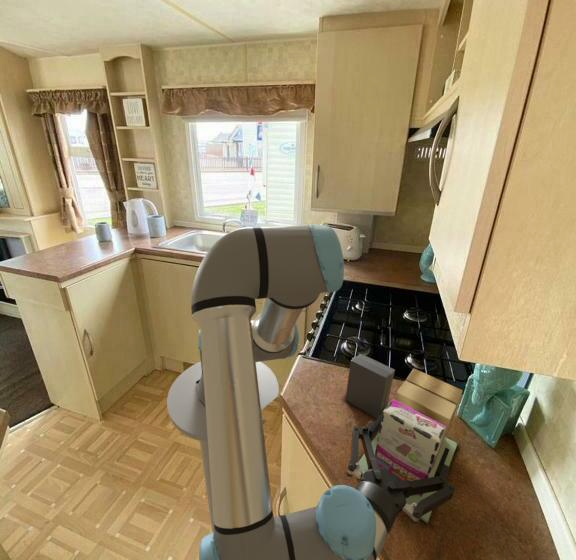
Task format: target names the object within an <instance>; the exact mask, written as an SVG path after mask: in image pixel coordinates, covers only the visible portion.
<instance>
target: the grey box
mask: <svg viewBox="0 0 576 560" xmlns="http://www.w3.org/2000/svg"><path fill="white" fill-rule="evenodd" d="M395 372H396V369H394V368H392V367H389V366H388V365H386V364H384V363H382V362H379V361H378V360H375V359H373V358H371V357H369V356H367V355H365V354H362V353H359V354H358V355H357V356H356V355H355V356H354V357H352V359H351V360H350V364H349V371H348V378H347V385H346V392H345V399H344V400H345V401H347V402H348V403H350V404H351V405H353V406H355V407H357V408H359V410H362V411H364V412H365V413H367V414H369V415H370V416H372V417H374V418H375V419H376V420H377V419H378V417H379V416H380V414H381V413H382V412H383V411H384V410H385V409H386V407H387V406H388V405H389V400H390V399H389V398H390V395H391V390H392V387H393V380H394V377H395Z"/></svg>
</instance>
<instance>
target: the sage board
mask: <svg viewBox="0 0 576 560" xmlns="http://www.w3.org/2000/svg"><path fill="white" fill-rule="evenodd" d="M378 436H379V431H377V433H376V434H375V436H374V437H373V439H372V440H371V444H372V447H373V451H374V454H375V450H376V446H377V441H378ZM457 446H458V442H455V441H454V440H452V439H450V438H448V437H447V438H446V440H445V443H444V445H443V448H442V450H441V452H440V454H439V457H438V459H437V462H436V464H435V466H434V469H433V471H432V473H431V476H430V477H434V475H435V472H436V469H437V467H438V465H439V462H440V460H441V457H442V455H443V453H444V450H445V448H448V449H449V453H448V455H447V458H446V461H445V463H444V464H445V465H447V466H448V467H449V468H450V465H451V462H452V460H453V457H454V455H455V451H456V450H457ZM357 463H359V465H360V470H361V472H363V471H365V470H368V465H367V461H366V457H365V453H364V452H363V455H362V456H361V458H360V459H359V460H358V461H357ZM435 492H437V491H435ZM435 492H429V493H424V494H423V495H422V497H421V496H419V495H413V496H410V497H408V498H405V499H406V503H407V504H412V503H416V504H418V502H419V501H421V500H422V499H424V498H426V497H428V496H430V495H431V494H433V493H435ZM432 511H433V510H432ZM432 511H430V512H428V513H427V514H425V515H423V516H422V517H421V519H420V520H422V521H423V522H424V523H426V524H428V523H429V520H430V517H431V515H432Z"/></svg>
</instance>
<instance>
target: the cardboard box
mask: <svg viewBox="0 0 576 560" xmlns="http://www.w3.org/2000/svg"><path fill="white" fill-rule="evenodd" d="M463 391H464V390H463V389H460V388H458V387H456V386H454V385H452V384H449V383H447V382H445V381H443V380H441V379H439V378H436V377H434V376H432V375H429V374H427V373H425V372H423V371H421V370H418V369H416V368H412V370H411V371H410V373H409V374H408V376H407V378H406V379H405V380H404V381H403V382H402V385H401V386H400V387H399V389H398V390H397V391H396V395H395V399H394V400H396V401H398V402H400V403H402V404H404V405H406V406H408V407H410V408H412V409H413V410H415V411H417V412H419V413H421V414H423V415H425V416H427V417H429V418H431V419H433V420H435V421H437V422H439V423H441V424H443V425H444V426H446V429H445V432H444V435H443V438H442V442H441V445H440V448H439V451H438V454H437V457H436V460H435V464H436V462H437V459H438V457H439V454H440V452H441V450H442V448H443V445H444V443H445V440H446V438H448V435H449V431H450V430H451V427H452V423H453V420H454V418H455V415H456V412H457V409H458V406H459V404H460V400H461V397H462V395H463ZM435 464H434V466H435ZM433 469H434V467H433ZM432 471H433V470H432Z"/></svg>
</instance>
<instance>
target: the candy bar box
mask: <svg viewBox="0 0 576 560" xmlns="http://www.w3.org/2000/svg"><path fill="white" fill-rule="evenodd" d="M445 429H446V426H444V425H443V424H441V423H439V422H437V421H435V420H433V419H431V418H429V417H427V416H425V415H423V414H421V413H419V412H417V411H415V410H413V409H412V408H410V407H408V406H406V405H404V404H402V403H400V402H398V401H396V400H395V399H394V398H392V399H391V400H390V401H389V402H388V404H387V407H386V409H385V410H384V411H383V416H382V420H381V426H380V428H379V430H378V432H379V436H378V441H377V446H376V450H375V458H376V459H377V462H378V466H379V467H381V468H383V467H384V468H385V469H387V470H388V471H389V472H390V473H392V474H394V475H396V476H397V477H399V480H400V481H403V480H409V481H413V480H419V479H424V478H430V476H431V473H432V470H433V467H434V464H435V460H436V457H437V454H438V451H439V448H440V445H441V442H442V438H443V435H444V432H445ZM418 495H419V496H421V497H422V495H423V494H418Z"/></svg>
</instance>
